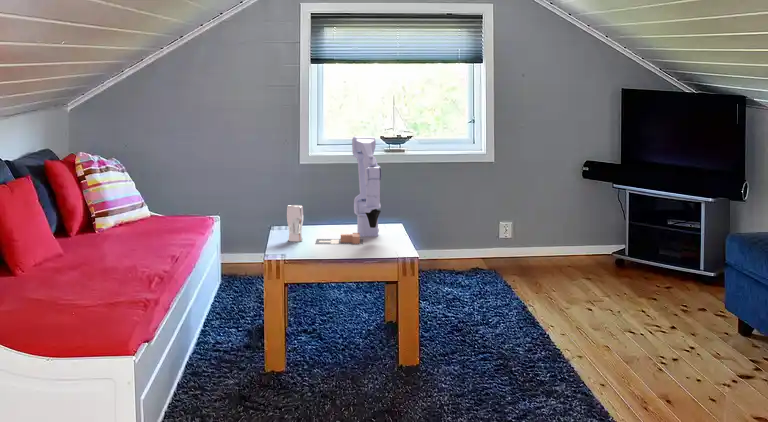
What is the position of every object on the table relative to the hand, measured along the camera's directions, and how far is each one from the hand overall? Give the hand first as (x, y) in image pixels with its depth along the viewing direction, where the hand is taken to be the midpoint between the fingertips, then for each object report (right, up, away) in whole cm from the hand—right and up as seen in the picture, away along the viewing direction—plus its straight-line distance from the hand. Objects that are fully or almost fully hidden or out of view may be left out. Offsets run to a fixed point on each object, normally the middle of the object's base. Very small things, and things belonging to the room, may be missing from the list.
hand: (372, 227), depth 315 cm
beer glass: (-33, -6, +4) cm, 34 cm away
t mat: (-14, -6, +1) cm, 15 cm away
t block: (-10, -6, +1) cm, 11 cm away
